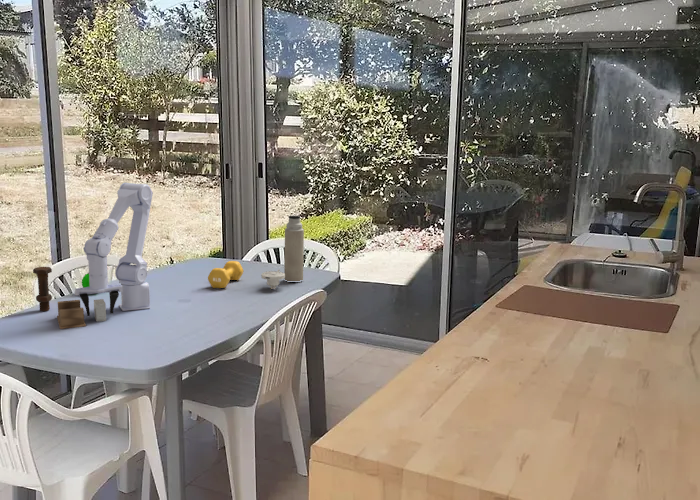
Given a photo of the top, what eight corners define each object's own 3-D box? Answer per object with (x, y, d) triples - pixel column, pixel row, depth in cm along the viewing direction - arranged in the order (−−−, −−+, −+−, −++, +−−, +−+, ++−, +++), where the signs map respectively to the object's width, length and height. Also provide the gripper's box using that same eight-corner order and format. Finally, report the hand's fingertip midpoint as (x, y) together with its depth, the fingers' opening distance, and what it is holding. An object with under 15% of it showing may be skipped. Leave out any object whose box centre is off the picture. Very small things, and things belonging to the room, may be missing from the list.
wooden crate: (81, 315, 222) (80, 299, 221) (85, 326, 210) (85, 309, 209) (57, 317, 218) (56, 301, 217) (60, 329, 206) (59, 311, 205)
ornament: (105, 290, 255) (104, 265, 253) (104, 295, 247) (103, 269, 245) (82, 291, 252) (81, 265, 251) (81, 296, 245) (79, 270, 243)
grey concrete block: (103, 316, 222) (103, 299, 220) (106, 320, 216) (105, 303, 215) (94, 317, 220) (93, 299, 219) (96, 321, 215) (95, 304, 214)
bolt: (45, 313, 222) (43, 270, 220) (32, 312, 223) (29, 269, 221) (56, 308, 228) (54, 266, 225) (43, 307, 229) (41, 265, 226)
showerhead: (289, 270, 266) (278, 275, 256) (289, 287, 267) (277, 293, 258) (269, 267, 269) (257, 272, 260) (269, 285, 270) (256, 290, 261)
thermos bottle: (291, 277, 284) (292, 213, 279) (306, 280, 280) (307, 215, 275) (280, 281, 278) (281, 215, 272) (295, 284, 273) (296, 217, 268)
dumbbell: (227, 290, 260) (226, 270, 259) (206, 288, 262) (205, 268, 261) (245, 280, 278) (245, 261, 277) (225, 278, 280) (225, 259, 279)
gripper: (75, 278, 209) (77, 319, 211) (123, 275, 215) (124, 314, 218) (73, 274, 215) (75, 313, 217) (119, 270, 221) (121, 309, 224)
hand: (100, 314), depth 218 cm, fingers open, 7 cm apart
